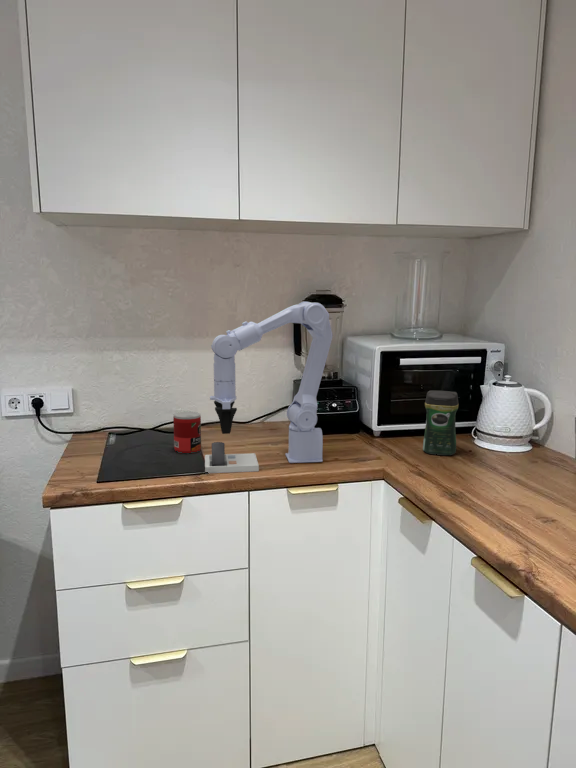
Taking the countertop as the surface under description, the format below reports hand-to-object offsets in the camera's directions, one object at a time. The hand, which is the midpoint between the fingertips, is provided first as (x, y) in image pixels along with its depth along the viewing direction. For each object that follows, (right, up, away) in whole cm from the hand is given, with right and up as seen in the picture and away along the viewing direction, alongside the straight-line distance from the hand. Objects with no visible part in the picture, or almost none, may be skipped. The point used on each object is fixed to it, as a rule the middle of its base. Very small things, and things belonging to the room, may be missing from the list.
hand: (225, 429), depth 155 cm
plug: (-2, -10, -2) cm, 11 cm away
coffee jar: (+62, -8, +16) cm, 64 cm away
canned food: (-13, -7, +15) cm, 21 cm away
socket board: (+2, -10, +1) cm, 10 cm away
